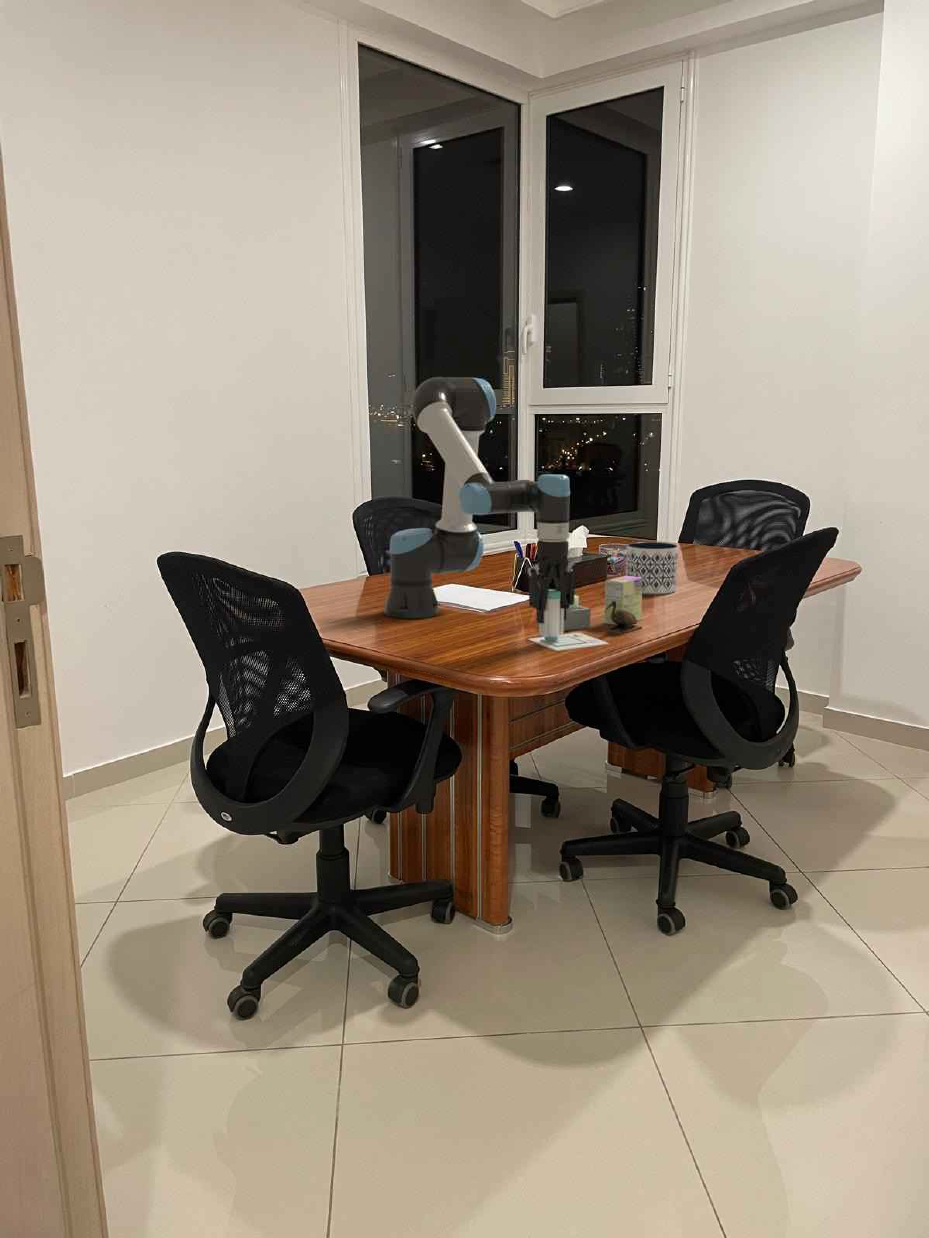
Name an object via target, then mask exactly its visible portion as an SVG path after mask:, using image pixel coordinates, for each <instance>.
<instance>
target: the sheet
mask: <svg viewBox="0 0 929 1238" xmlns="http://www.w3.org/2000/svg"><path fill="white" fill-rule="evenodd" d="M528 641H530V642H532V643H535V644H538V645H540V646H542V647H545V648H548V649H550V650H552V651H555V652H562V651H563V652H564V651H569V650H578V649H584V648H585V649H586V648H591V647H599V646H607V645H610V643H609V642H608V641H607V642H606V641H605V640H600V639H599V638H595V637H593V636H590V635H588V634H584V633H582V632H574V633H573V632H572V633H564V635H559V636H558V640H555V641H548V640H545V637H543V636H541V637H540V636H539V637H532V638H528Z"/></svg>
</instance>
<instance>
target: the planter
mask: <svg viewBox="0 0 929 1238" xmlns="http://www.w3.org/2000/svg"><path fill="white" fill-rule="evenodd" d="M625 551H626V553H625V554H626V555H625V556H626V558H625V576H634V577H642V595H667V594H672V593H674V592H675V591H676V590H677V579H678V578H677V577H678V575H677V574H678V560H679V559H678V556H679V554H678V553H679V546H678V544H675V543H670V542H669V543H668V542H656V541H655V542H654V541H641V542H638V541H637V542H631V543H627V544H626V550H625Z"/></svg>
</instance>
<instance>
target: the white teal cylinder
mask: <svg viewBox="0 0 929 1238" xmlns="http://www.w3.org/2000/svg"><path fill="white" fill-rule="evenodd" d="M560 598H561V591H559V590H556V589H554V588H553V589H551V588H549V590H548V595H547V601H546V606H545V610H548V630H547V637H545V640H548V641H555V640H558V636H559V634H560Z"/></svg>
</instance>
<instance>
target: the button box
mask: <svg viewBox="0 0 929 1238" xmlns="http://www.w3.org/2000/svg"><path fill="white" fill-rule="evenodd" d="M591 609H592V608H589V607H585V606H583V605H579V604H578V609H576V610H567V611H566V621H564V632H565V631H572V630H573V631H574V630H581V629H582V630H583V629H590V628H591Z"/></svg>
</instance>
